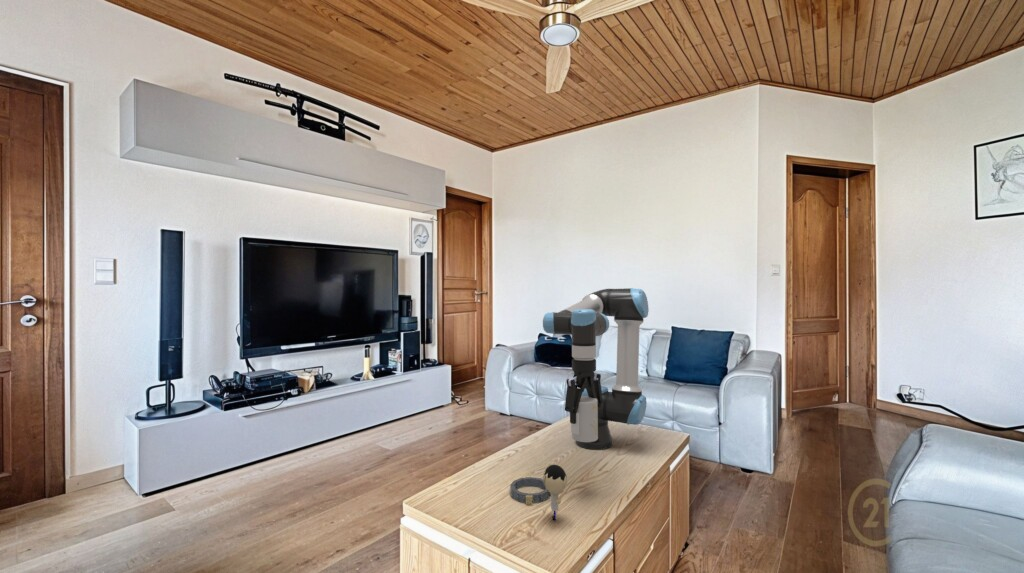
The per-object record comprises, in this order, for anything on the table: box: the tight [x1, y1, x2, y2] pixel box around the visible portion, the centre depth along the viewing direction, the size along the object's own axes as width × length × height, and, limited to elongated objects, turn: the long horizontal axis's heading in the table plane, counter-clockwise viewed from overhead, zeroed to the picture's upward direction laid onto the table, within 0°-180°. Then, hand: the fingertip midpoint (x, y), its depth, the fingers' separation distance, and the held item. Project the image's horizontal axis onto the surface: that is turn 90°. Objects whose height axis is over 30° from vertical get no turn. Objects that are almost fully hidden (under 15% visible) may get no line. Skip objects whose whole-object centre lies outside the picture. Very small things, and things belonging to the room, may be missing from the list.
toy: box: [542, 464, 568, 521], centre depth 122 cm, size 9×7×15 cm
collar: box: [509, 476, 551, 506], centre depth 137 cm, size 12×12×2 cm
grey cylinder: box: [571, 396, 598, 442], centre depth 137 cm, size 8×8×12 cm
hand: (584, 430), depth 137 cm, fingers closed on grey cylinder, 8 cm apart
